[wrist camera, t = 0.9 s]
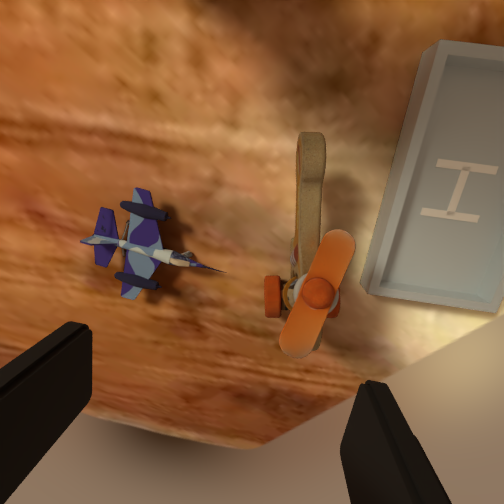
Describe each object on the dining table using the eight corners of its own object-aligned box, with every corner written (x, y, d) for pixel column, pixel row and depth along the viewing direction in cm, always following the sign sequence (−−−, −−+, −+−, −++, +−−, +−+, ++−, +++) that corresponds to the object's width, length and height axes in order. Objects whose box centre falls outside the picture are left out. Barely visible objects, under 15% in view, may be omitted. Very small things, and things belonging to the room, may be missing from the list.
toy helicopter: (265, 311, 36) (260, 395, 23) (263, 139, 30) (254, 121, 17) (330, 312, 36) (362, 399, 23) (341, 136, 29) (395, 114, 16)
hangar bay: (422, 52, 27) (440, 39, 24) (574, 70, 26) (611, 59, 23) (359, 282, 34) (367, 293, 31) (477, 300, 34) (496, 313, 31)
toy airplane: (233, 266, 35) (228, 277, 31) (142, 307, 38) (128, 321, 34) (179, 167, 32) (167, 167, 28) (84, 220, 35) (63, 226, 31)
